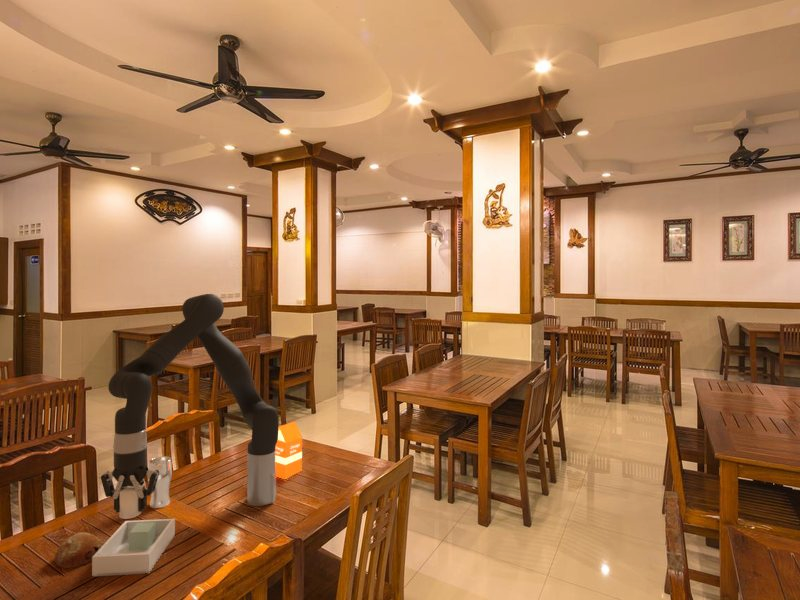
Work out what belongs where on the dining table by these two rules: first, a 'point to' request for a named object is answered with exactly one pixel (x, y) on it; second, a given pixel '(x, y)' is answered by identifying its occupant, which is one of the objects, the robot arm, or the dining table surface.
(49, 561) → the dining table surface
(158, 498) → the beer glass
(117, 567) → the grey tote
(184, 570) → the dining table surface
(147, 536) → the sage block
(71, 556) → the bread roll
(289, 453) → the orange juice
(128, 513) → the white pillar candle
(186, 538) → the dining table surface
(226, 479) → the dining table surface
